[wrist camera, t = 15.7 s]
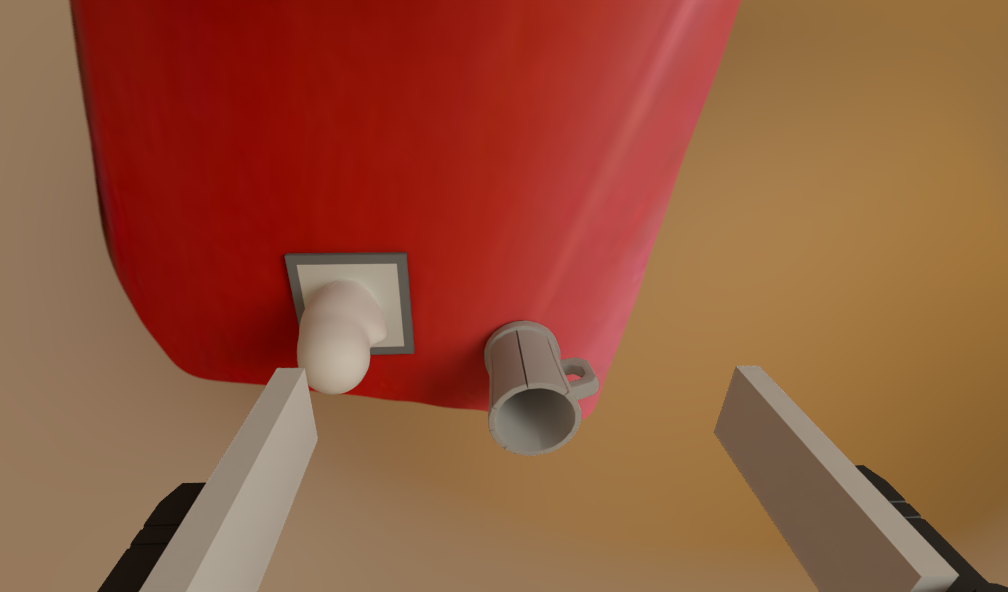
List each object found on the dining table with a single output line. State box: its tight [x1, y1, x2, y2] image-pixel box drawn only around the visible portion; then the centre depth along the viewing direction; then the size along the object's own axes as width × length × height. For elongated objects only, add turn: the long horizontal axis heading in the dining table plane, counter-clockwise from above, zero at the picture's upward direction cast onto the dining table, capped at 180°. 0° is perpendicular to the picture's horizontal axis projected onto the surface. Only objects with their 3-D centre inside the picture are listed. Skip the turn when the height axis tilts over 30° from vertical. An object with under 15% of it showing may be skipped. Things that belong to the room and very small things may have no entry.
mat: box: [285, 252, 414, 355], centre depth 49 cm, size 12×12×1 cm
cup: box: [484, 321, 599, 456], centre depth 48 cm, size 10×9×12 cm
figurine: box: [297, 279, 387, 394], centre depth 44 cm, size 7×8×12 cm
